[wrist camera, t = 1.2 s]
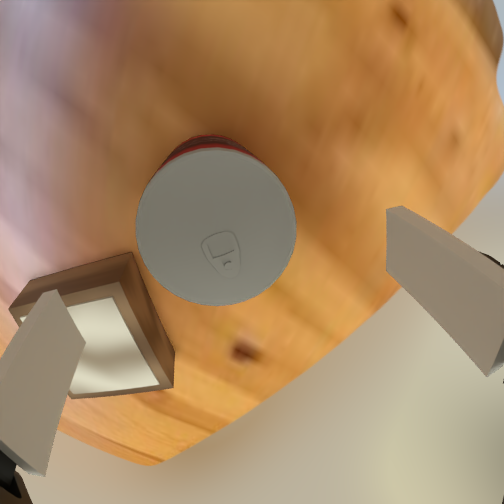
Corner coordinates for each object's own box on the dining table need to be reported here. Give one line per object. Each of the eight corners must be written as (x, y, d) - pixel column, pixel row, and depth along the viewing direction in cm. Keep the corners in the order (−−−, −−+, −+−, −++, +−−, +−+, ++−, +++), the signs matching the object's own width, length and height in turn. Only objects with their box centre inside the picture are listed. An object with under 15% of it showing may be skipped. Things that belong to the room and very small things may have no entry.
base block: (30, 280, 25) (7, 310, 20) (131, 252, 25) (118, 283, 21) (81, 367, 30) (71, 400, 25) (174, 352, 31) (173, 389, 26)
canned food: (202, 247, 26) (206, 331, 16) (141, 174, 23) (99, 221, 13) (277, 194, 25) (327, 251, 15) (220, 114, 22) (234, 113, 12)
